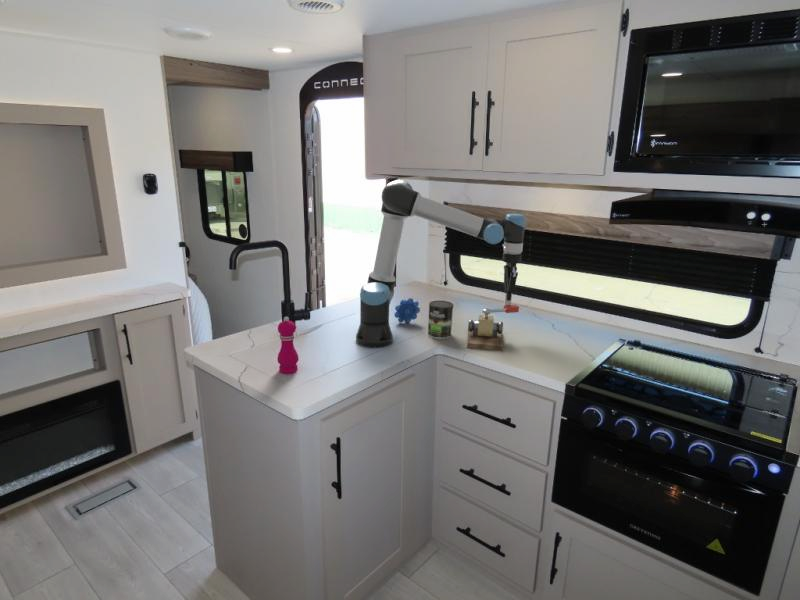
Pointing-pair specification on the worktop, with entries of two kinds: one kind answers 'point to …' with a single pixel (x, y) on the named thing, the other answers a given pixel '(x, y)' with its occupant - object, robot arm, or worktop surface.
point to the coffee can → (440, 319)
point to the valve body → (485, 326)
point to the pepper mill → (287, 347)
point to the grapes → (407, 310)
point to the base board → (484, 342)
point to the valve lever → (502, 309)
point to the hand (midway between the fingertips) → (507, 306)
